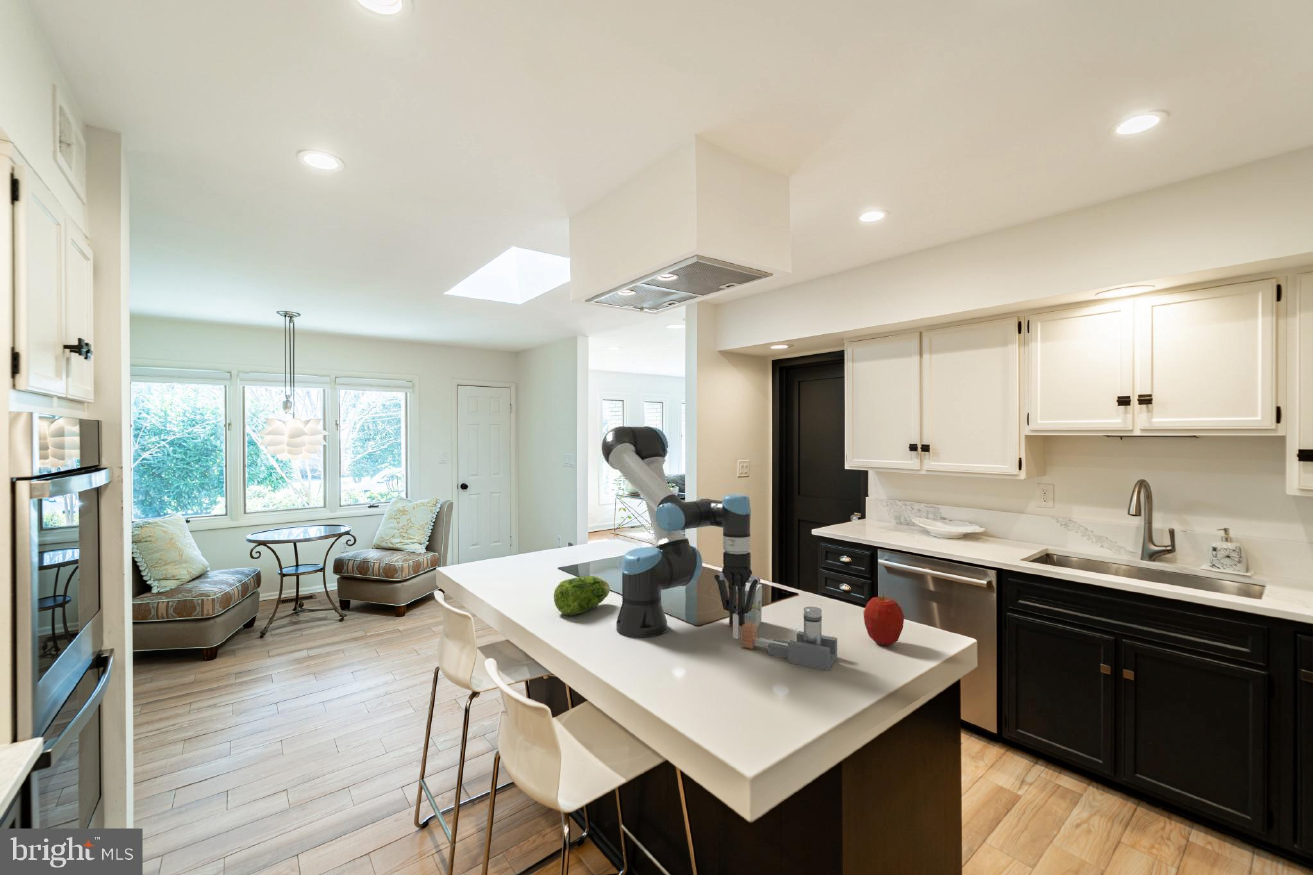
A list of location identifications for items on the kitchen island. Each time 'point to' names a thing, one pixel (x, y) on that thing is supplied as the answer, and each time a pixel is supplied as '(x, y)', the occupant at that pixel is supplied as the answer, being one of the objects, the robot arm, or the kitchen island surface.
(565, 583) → the green rounded piece
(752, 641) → the pin
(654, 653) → the kitchen island surface
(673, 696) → the kitchen island surface
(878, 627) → the apple
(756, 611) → the ink box
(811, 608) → the grey cylinder
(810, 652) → the mount
